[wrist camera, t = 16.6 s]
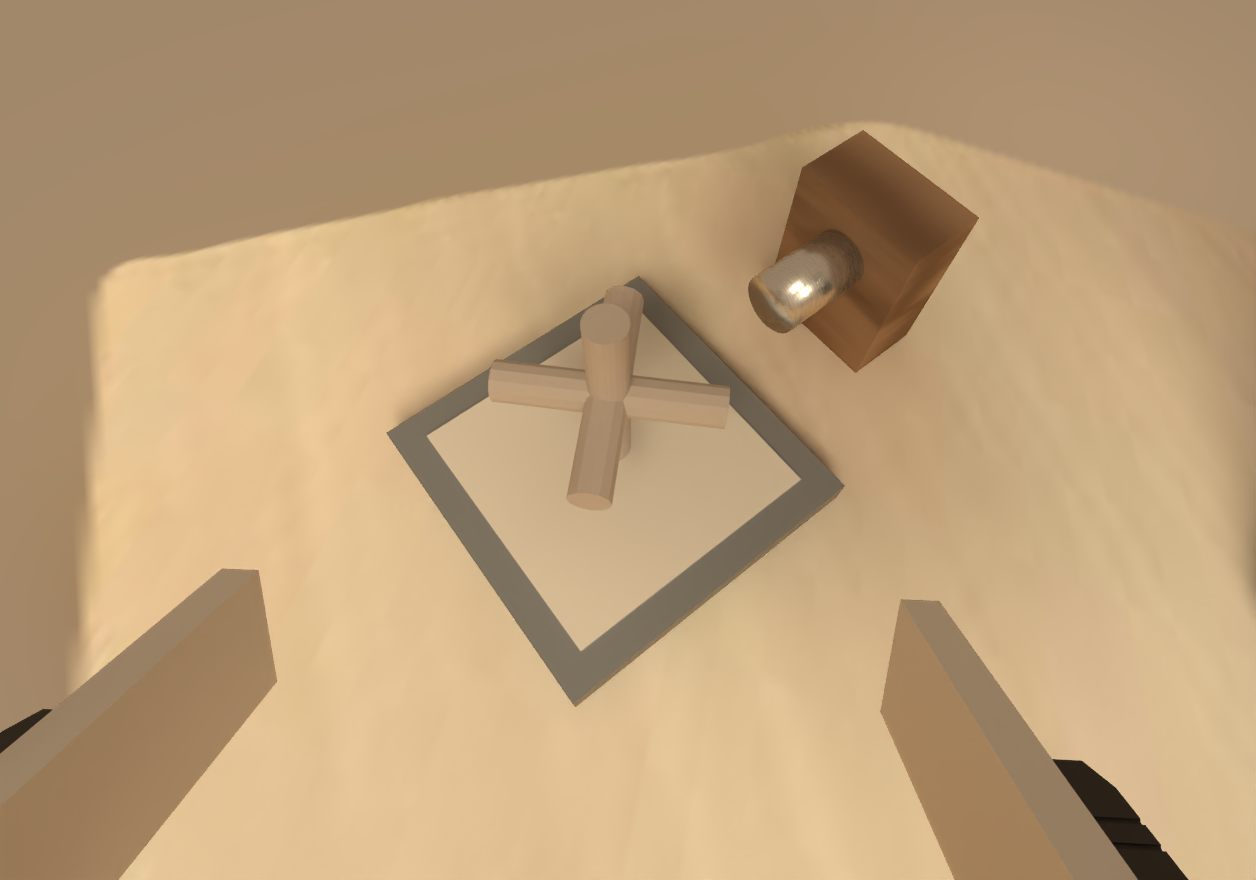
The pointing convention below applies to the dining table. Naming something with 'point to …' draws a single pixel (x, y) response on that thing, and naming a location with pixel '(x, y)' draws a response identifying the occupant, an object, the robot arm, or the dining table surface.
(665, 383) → the pipe connector
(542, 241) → the dining table surface
